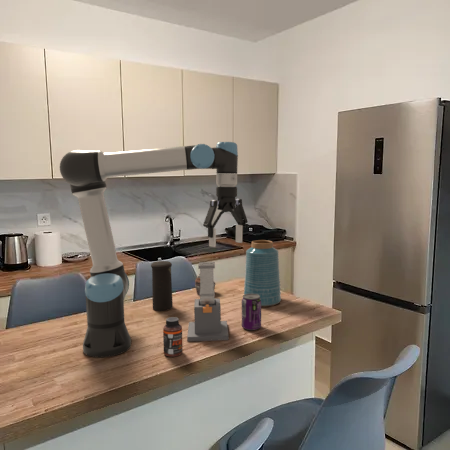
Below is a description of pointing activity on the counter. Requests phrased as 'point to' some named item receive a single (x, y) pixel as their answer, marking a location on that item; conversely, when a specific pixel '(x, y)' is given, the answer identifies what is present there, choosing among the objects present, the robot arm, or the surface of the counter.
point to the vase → (263, 272)
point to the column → (206, 283)
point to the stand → (207, 323)
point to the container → (161, 285)
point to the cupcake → (197, 284)
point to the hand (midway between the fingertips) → (226, 244)
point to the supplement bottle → (172, 337)
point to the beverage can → (251, 311)
